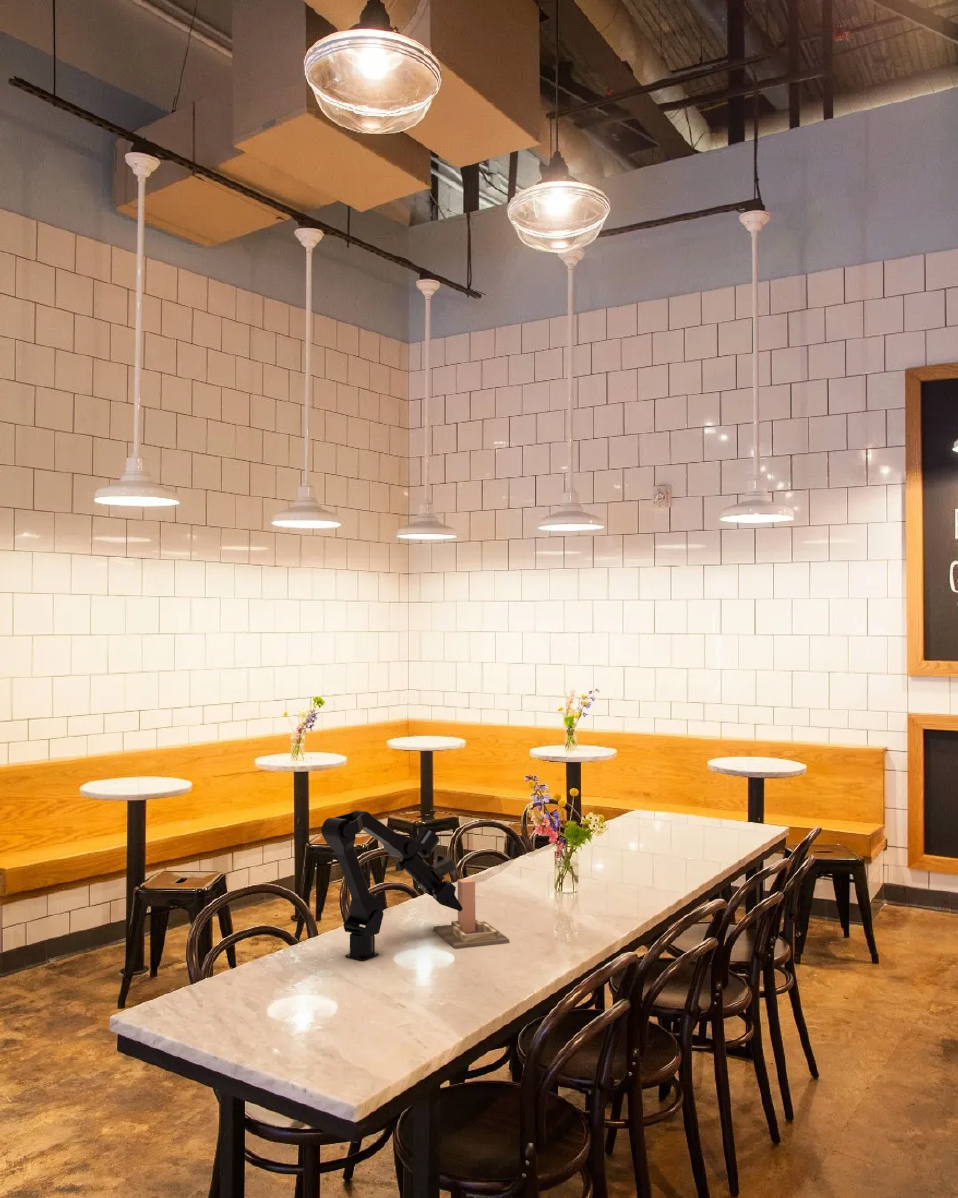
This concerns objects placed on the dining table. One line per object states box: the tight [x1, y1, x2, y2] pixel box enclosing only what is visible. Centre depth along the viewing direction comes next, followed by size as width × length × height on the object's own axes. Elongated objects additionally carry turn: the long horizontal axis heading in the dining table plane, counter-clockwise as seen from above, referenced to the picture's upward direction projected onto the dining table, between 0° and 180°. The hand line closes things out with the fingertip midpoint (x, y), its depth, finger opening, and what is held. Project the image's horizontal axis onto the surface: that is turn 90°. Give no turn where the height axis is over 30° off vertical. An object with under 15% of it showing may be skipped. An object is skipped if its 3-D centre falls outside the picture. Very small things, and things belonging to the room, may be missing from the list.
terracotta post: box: [457, 878, 476, 932], centre depth 289 cm, size 4×4×14 cm
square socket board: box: [432, 918, 510, 950], centre depth 286 cm, size 20×16×3 cm
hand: (456, 906), depth 288 cm, fingers open, 9 cm apart
